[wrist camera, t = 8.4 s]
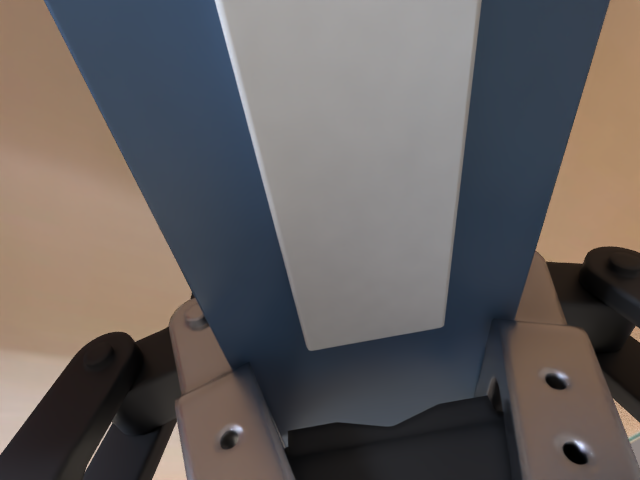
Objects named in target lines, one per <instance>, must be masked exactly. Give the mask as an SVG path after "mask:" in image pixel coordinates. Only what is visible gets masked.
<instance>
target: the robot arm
mask: <svg viewBox="0 0 640 480" xmlns="http://www.w3.org/2000/svg"><path fill="white" fill-rule="evenodd" d="M635 326H637V327H639V328H640V253H638V252H636V251H633V250H629V249H625V248H620V247H599V248H596V249H593V250H591V251H590V252H588V254H587V255H586V257H585V260H584V262H583V264H576V263H557V262H546V261H545V259H544V258H543V257H542V256H541V255H540V254H539V253H538V252H536V251H535V253H534V256H533V260H532V263H531V266H530V270H529V273H528V276H527V280H526V283H525V286H524V290H523V293H522V297H521V300H520V303H519V307H518V310H517V313H516V317H515V320H507V319H497V318H494V319H493V320H492V322H491V326H490V330H489V335H488V339H487V343H486V348H485V355H484V359H483V363H482V367H481V371H480V375H479V379H478V382H477V384H476V389H475V393H474V397H473V398H469V399H464V400H458V401H452V402H447V403H441V404H437V405H435V406H433V407H431V408H429V409H427V410H425V411H423V412H421V413H419V414H417V415H415V416H413V417H411V418H409V419H407V420H405V421H403V422H401V423H399V424H397V425H394V426H390V427H385V426H374V425H363V424H352V423H341V422H335V423H329V424H323V425H318V426H312V427H306V428H301V429H295V430H290V431H288V447H287V446H286V444H285V441H284V439H283V437H282V434H281V432H280V430H279V428H278V425H277V423H276V421H275V419H274V417H273V414H272V412H271V410H270V408H269V405H268V403H267V401H266V398H265V396H264V394H263V392H262V389H261V387H260V385H259V383H258V380H257V378H256V376H255V373H254V371H253V369H252V367H251V364H250V362H248V363H246V364H244V365H242V366H240V367H238V368H236V369H234V370H232V369H231V367H230V365H229V363H228V361H227V359H226V357H225V355H224V353H223V351H222V349H221V348H220V346H219V344H218V342H217V340H216V338H215V336H214V334H213V332H212V330H211V328H210V326H209V324H208V322H207V320H206V318H205V316H204V314H203V312H202V310H201V308H200V306H199V304H198V302H197V300H196V298H195V296H194V294H193V292H192V295H191V299H190V300H189V301H187V302H185V303H184V304H183V305H181V306H180V307H179V308H178V309H177V310H176V311H175V312H174V314H173V315H172V317H171V319H170V322H169V327H167V328H165V329H163V330H161V331H159V332H157V333H155V334H152V335H150V336H148V337H145V338H143V339H141V340H139V341H136V342H135V341H134V340H133V339H132V337H131V336H130V335H128V334H127V333H124V332H112V333H108V334H104V335H102V336H100V337H97V338H96V339H94V340H92V341H91V342H89V343H88V344H86V345H85V346H84V347H83V348H82V349H81V350H80V351H79V352H78V353H77V354H76V355H75V356H74V357H73V359H72V360H71V361H70V363H69V364H68V365H67V367H66V368H65V369H64V371H63V372H62V373H61V375H60V376H59V377H58V379H57V380H56V381H55V383H54V384H53V385H52V387H51V388H50V389H49V391H48V392H47V393H46V395H45V396H44V397H43V399H42V400H41V401H40V403H39V404H38V405H37V407H36V408H35V409H34V411H33V412H32V413H31V415H30V416H29V417H28V419H27V420H26V421H25V423H24V424H23V425H22V427H21V428H20V429H19V431H18V432H17V433H16V435H15V436H14V437H13V439H12V440H11V441H10V443H9V444H8V445H7V447H6V448H5V449H4V451H3V452H2V453H1V455H0V480H152V478H153V476H154V474H155V471H156V469H157V467H158V464H159V462H160V459H161V457H162V455H163V452H164V450H165V448H166V445H167V443H168V441H169V438H170V436H171V434H172V431H173V429H174V427H175V424H176V422H177V423H178V429H179V435H180V441H181V447H182V453H183V459H184V465H185V471H186V476H187V480H640V468H639V465H638V462H637V460H636V457H635V455H634V452H633V450H632V447H631V444H630V442H629V439H628V437H627V434H626V431H625V429H624V426H623V424H622V421H621V419H620V416H619V413H618V411H617V408H616V406H615V403H614V401H613V399H615V400H616V401H617V402H618V403H619V404H620V405H621V406H622V407H623V408H624V409H625V410H627V411H628V412H629V413H630V414H631V415H632V416H633V417H634V418H635V419H636V420H638V421H639V422H640V343H639V342H638V341H637V340H635V339H634V338H633V337H631V336H630V334H631V332H632V331H633V329H634V328H635ZM111 422H113V423H112V425H111V427H110V429H109V431H108V432H107V434H106V436H105V438H104V439H103V441H102V443H101V445H100V447H99V448H98V450H97V452H96V454H95V456H94V457H93V459H92V461H91V463H90V464H89V466H88V468H87V470H86V472H85V469H86V467H87V464H88V463H89V461H90V459H91V457H92V455H93V454H94V452H95V450H96V448H97V446H98V445H99V443H100V441H101V439H102V438H103V436H104V434H105V432H106V431H107V429H108V427H109V425H110V423H111Z"/></svg>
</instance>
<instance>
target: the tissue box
mask: <svg viewBox="0 0 640 480" xmlns="http://www.w3.org/2000/svg"><path fill="white" fill-rule="evenodd" d="M44 1H45V3H46V5H47V7H48V9H49V11H50V13H51V15H52V17H53V19H54V21H55V23H56V25H57V27H58V29H59V31H60V33H61V35H62V37H63V39H64V41H65V43H66V45H67V47H68V49H69V51H70V53H71V54H72V56H73V58H74V60H75V62H76V64H77V66H78V68H79V70H80V72H81V74H82V76H83V78H84V80H85V82H86V84H87V86H88V88H89V90H90V92H91V94H92V96H93V98H94V100H95V102H96V104H97V106H98V108H99V110H100V112H101V113H102V115H103V117H104V119H105V121H106V123H107V125H108V127H109V129H110V131H111V133H112V135H113V137H114V139H115V141H116V143H117V145H118V147H119V149H120V151H121V153H122V155H123V157H124V159H125V161H126V163H127V165H128V167H129V169H130V171H131V172H132V174H133V176H134V178H135V180H136V182H137V184H138V186H139V188H140V190H141V192H142V194H143V196H144V198H145V200H146V202H147V204H148V206H149V208H150V210H151V212H152V214H153V216H154V218H155V220H156V222H157V224H158V226H159V228H160V230H161V231H162V233H163V235H164V237H165V239H166V241H167V243H168V245H169V247H170V249H171V251H172V253H173V255H174V257H175V259H176V261H177V263H178V265H179V267H180V269H181V271H182V273H183V275H184V277H185V279H186V281H187V283H188V285H189V287H190V289H191V290H192V292H193V294H194V296H195V298H196V300H197V302H198V304H199V306H200V308H201V310H202V312H203V314H204V316H205V318H206V320H207V322H208V324H209V326H210V328H211V330H212V332H213V334H214V336H215V338H216V340H217V342H218V344H219V346H220V348H221V349H222V351H223V353H224V355H225V357H226V359H227V361H228V363H229V365H230V367H231V369H232V370H234V369H236V368H238V367H240V366H242V365H244V364H246V363H248V362H250V364H251V367H252V369H253V371H254V373H255V376H256V378H257V380H258V383H259V385H260V387H261V389H262V392H263V394H264V396H265V398H266V401H267V403H268V405H269V408H270V410H271V412H272V414H273V417H274V419H275V421H276V423H277V425H278V428H279V430H280V432H281V434H282V437H283V439H284V441H285V444H286V446H287V447H288V431H290V430H295V429H301V428H306V427H312V426H318V425H323V424H329V423H335V422H341V423H352V424H363V425H374V426H385V427H390V426H394V425H397V424H399V423H401V422H403V421H405V420H407V419H409V418H411V417H413V416H415V415H417V414H419V413H421V412H423V411H425V410H427V409H429V408H431V407H433V406H435V405H437V404H441V403H447V402H452V401H458V400H464V399H469V398H473V397H474V393H475V389H476V384H477V382H478V379H479V375H480V371H481V367H482V363H483V359H484V355H485V348H486V343H487V339H488V335H489V330H490V326H491V322H492V320H493V319H494V318H497V319H507V320H515V317H516V313H517V310H518V307H519V303H520V300H521V297H522V293H523V290H524V286H525V283H526V280H527V276H528V273H529V270H530V266H531V263H532V260H533V256H534V253H535V250H536V246H537V243H538V240H539V236H540V233H541V230H542V226H543V223H544V220H545V216H546V213H547V209H548V206H549V203H550V199H551V196H552V193H553V189H554V186H555V183H556V179H557V176H558V173H559V169H560V166H561V163H562V159H563V156H564V153H565V149H566V146H567V143H568V139H569V136H570V132H571V129H572V126H573V122H574V119H575V116H576V112H577V109H578V106H579V102H580V99H581V96H582V92H583V89H584V86H585V82H586V79H587V76H588V72H589V69H590V66H591V62H592V59H593V55H594V52H595V49H596V45H597V42H598V39H599V35H600V32H601V29H602V25H603V22H604V19H605V15H606V12H607V9H608V5H609V2H610V0H44Z"/></svg>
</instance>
